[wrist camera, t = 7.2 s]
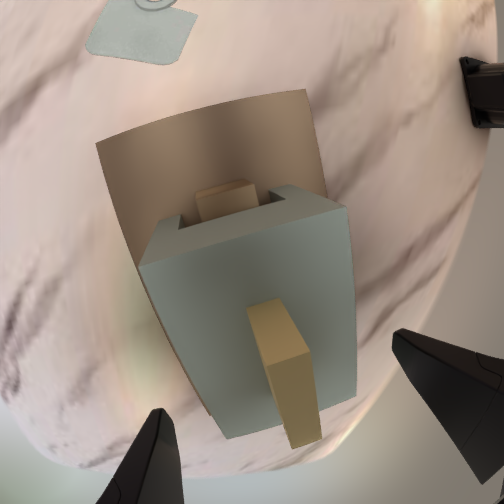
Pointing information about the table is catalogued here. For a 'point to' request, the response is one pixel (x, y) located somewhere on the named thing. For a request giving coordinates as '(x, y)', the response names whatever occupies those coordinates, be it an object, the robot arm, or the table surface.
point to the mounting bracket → (141, 31)
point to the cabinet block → (261, 310)
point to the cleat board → (209, 165)
